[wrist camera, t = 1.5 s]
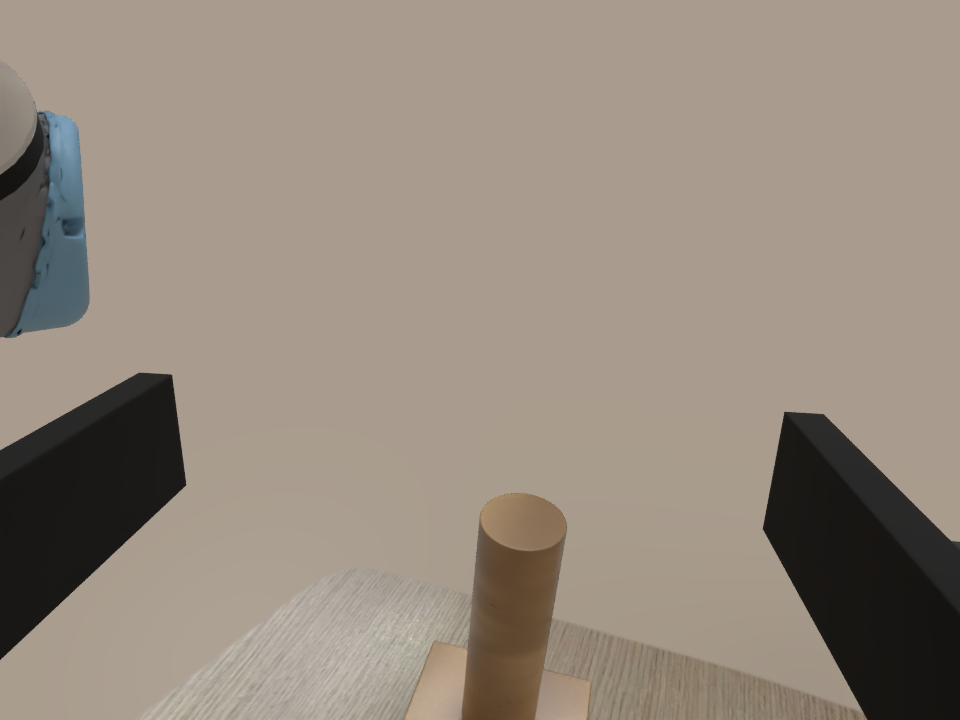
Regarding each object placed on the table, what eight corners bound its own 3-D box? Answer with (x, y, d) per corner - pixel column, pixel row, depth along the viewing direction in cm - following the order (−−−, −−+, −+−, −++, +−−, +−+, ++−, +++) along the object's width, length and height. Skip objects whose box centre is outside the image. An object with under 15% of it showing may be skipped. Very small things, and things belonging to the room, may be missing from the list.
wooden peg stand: (391, 793, 27) (397, 547, 21) (430, 684, 31) (444, 457, 26) (568, 847, 25) (626, 600, 20) (582, 725, 30) (632, 496, 24)
